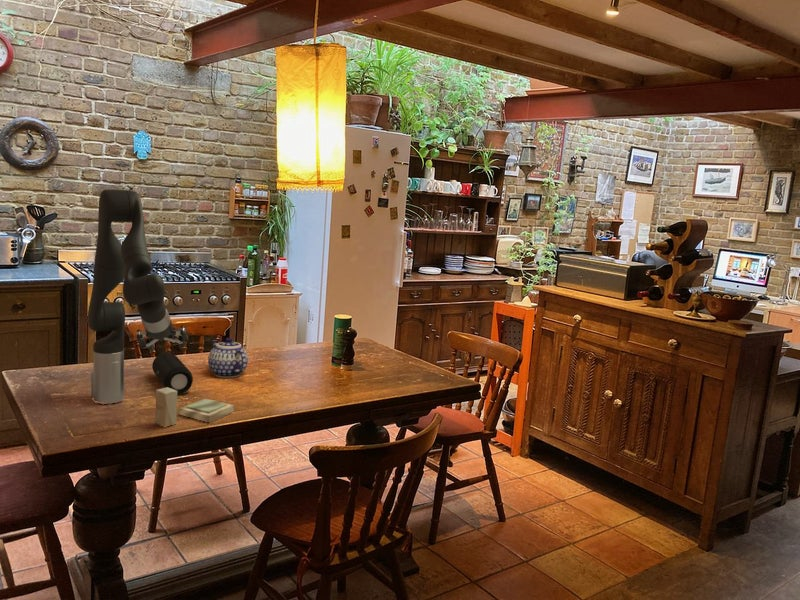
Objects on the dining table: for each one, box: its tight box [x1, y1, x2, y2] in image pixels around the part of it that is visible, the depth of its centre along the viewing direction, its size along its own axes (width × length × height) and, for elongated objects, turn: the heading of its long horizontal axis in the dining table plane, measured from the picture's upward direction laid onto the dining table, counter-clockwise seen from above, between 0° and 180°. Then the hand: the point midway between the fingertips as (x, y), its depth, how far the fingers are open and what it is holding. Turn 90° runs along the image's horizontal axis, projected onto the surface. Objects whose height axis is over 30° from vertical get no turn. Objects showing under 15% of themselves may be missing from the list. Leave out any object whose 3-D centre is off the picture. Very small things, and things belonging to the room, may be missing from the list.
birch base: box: [178, 397, 235, 424], centre depth 209 cm, size 12×12×3 cm
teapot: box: [207, 337, 249, 379], centre depth 252 cm, size 25×15×15 cm, turn 40°
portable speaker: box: [151, 351, 194, 395], centre depth 234 cm, size 26×10×10 cm, turn 31°
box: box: [154, 387, 178, 428], centre depth 197 cm, size 5×4×11 cm
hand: (167, 347), depth 199 cm, fingers open, 8 cm apart
